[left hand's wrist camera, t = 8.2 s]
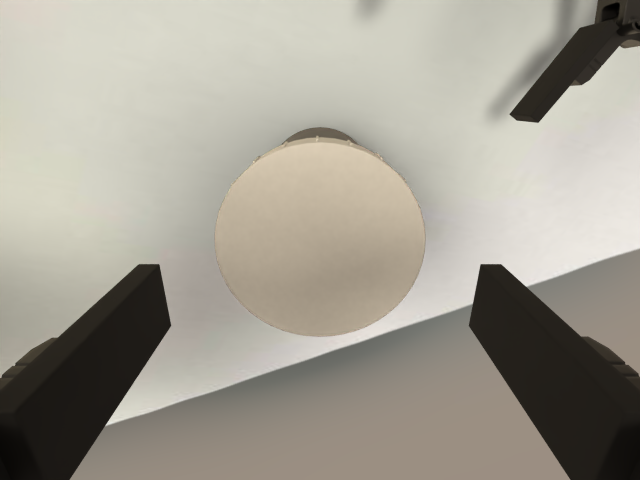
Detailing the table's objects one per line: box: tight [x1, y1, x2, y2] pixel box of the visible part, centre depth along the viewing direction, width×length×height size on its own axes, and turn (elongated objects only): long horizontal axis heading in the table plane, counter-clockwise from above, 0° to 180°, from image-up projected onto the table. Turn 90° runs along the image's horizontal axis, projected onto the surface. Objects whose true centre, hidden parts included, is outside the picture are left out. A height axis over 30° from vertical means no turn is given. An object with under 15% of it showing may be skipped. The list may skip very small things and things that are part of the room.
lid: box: [215, 136, 425, 337], centre depth 18 cm, size 11×11×2 cm
